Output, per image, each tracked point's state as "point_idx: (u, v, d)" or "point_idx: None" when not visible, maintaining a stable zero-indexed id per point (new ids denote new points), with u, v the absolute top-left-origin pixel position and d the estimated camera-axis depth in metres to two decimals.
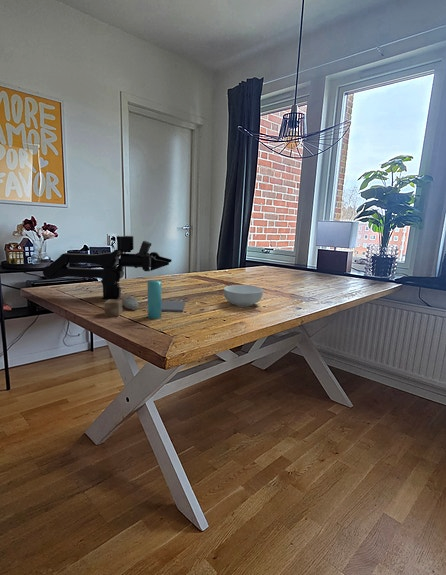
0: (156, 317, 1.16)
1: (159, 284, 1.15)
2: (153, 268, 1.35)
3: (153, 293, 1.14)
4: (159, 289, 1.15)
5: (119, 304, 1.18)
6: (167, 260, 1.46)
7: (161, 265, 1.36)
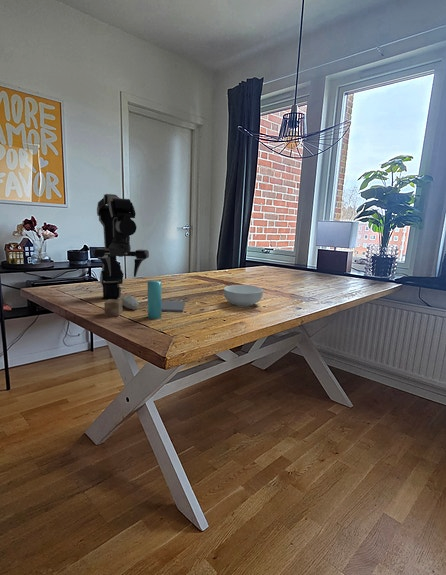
0: (156, 317, 1.16)
1: (159, 284, 1.15)
2: None
3: (153, 293, 1.14)
4: (159, 289, 1.15)
5: (119, 304, 1.18)
6: None
7: None
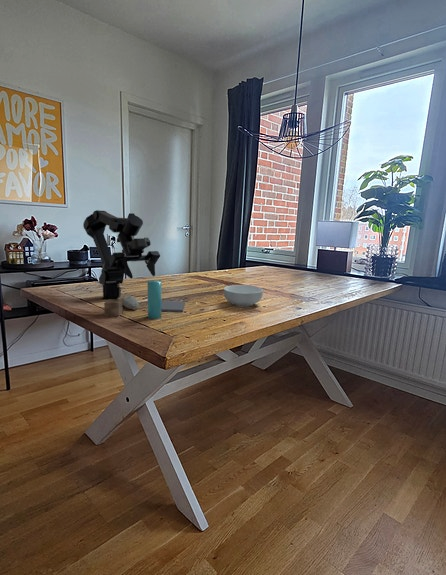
0: (156, 317, 1.16)
1: (159, 284, 1.15)
2: (119, 268, 1.21)
3: (153, 293, 1.14)
4: (159, 289, 1.15)
5: (119, 304, 1.18)
6: (152, 272, 1.25)
7: (125, 273, 1.20)
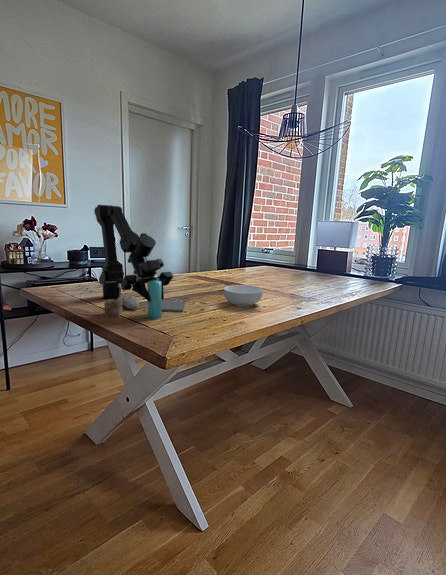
0: (156, 317, 1.16)
1: (159, 284, 1.15)
2: (136, 290, 1.17)
3: (153, 293, 1.14)
4: (159, 289, 1.15)
5: (119, 304, 1.18)
6: None
7: (143, 295, 1.15)
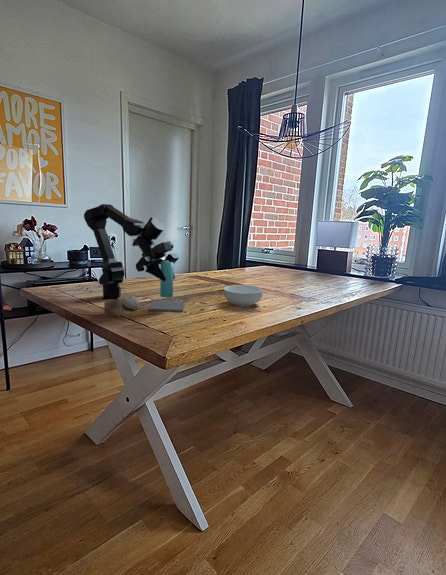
0: (170, 296, 1.25)
1: (172, 264, 1.23)
2: (149, 271, 1.23)
3: (168, 273, 1.22)
4: (172, 269, 1.23)
5: (119, 304, 1.18)
6: None
7: (157, 276, 1.22)
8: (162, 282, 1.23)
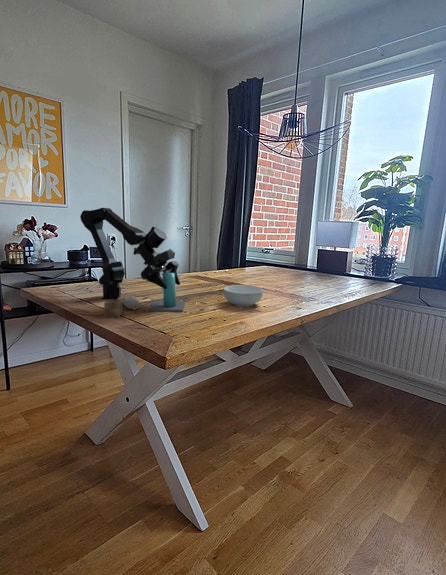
0: (173, 305, 1.30)
1: (174, 275, 1.29)
2: (150, 280, 1.25)
3: (170, 284, 1.27)
4: (174, 279, 1.29)
5: (119, 304, 1.18)
6: (176, 281, 1.33)
7: (158, 284, 1.25)
8: (165, 292, 1.28)
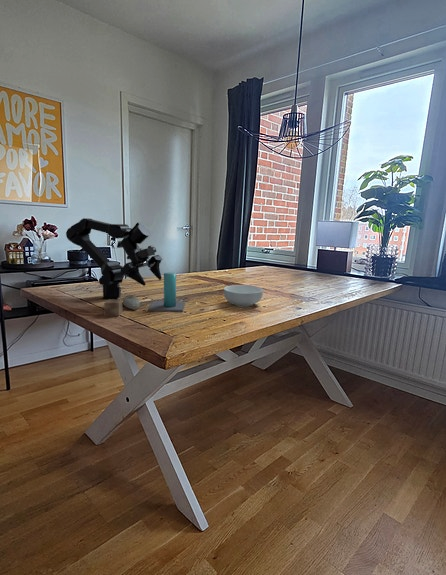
0: (173, 305, 1.30)
1: (175, 275, 1.29)
2: (130, 276, 1.30)
3: (171, 284, 1.27)
4: (175, 280, 1.29)
5: (119, 304, 1.18)
6: (158, 276, 1.37)
7: (137, 280, 1.30)
8: (166, 293, 1.28)
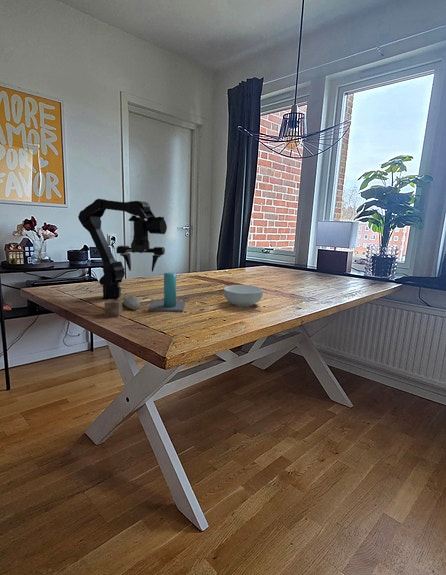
0: (173, 305, 1.30)
1: (175, 275, 1.29)
2: None
3: (171, 284, 1.27)
4: (175, 280, 1.29)
5: (119, 304, 1.18)
6: (152, 267, 1.37)
7: None
8: (166, 293, 1.28)
